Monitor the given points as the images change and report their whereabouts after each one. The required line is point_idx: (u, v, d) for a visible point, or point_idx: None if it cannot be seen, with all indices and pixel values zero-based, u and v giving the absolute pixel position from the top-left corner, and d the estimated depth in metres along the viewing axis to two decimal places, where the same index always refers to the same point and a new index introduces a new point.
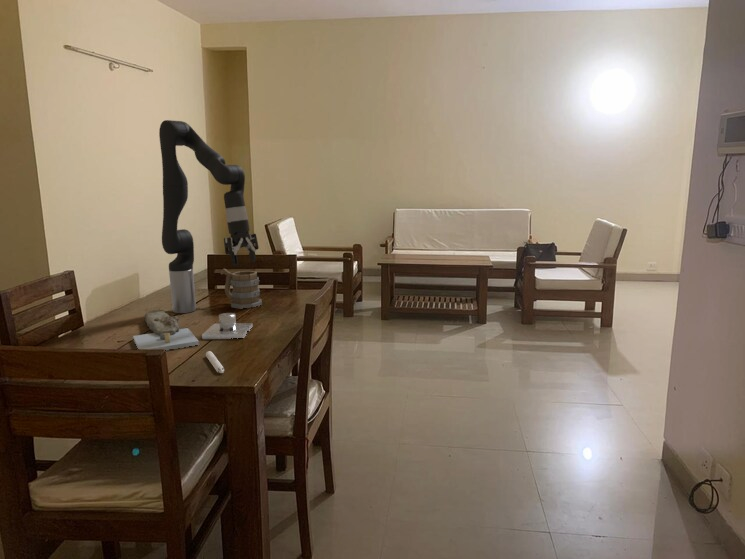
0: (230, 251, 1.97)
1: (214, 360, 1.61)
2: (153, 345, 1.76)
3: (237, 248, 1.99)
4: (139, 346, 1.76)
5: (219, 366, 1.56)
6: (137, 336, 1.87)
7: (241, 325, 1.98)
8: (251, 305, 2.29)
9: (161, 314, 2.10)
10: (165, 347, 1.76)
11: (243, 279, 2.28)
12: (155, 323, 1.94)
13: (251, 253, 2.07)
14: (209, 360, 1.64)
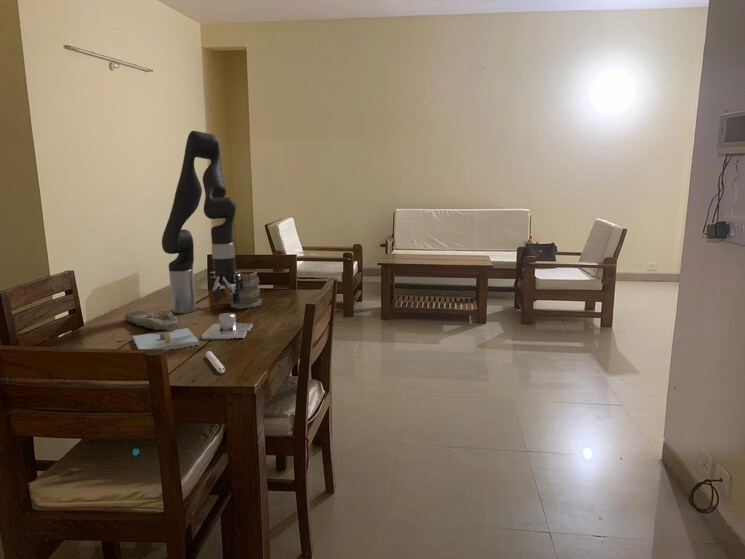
0: (209, 286, 1.94)
1: (214, 360, 1.61)
2: (153, 345, 1.76)
3: (215, 285, 1.92)
4: (139, 346, 1.76)
5: (220, 366, 1.56)
6: (137, 336, 1.87)
7: (241, 325, 1.98)
8: (251, 305, 2.29)
9: (144, 313, 2.10)
10: (165, 347, 1.76)
11: (243, 279, 2.28)
12: (151, 319, 1.96)
13: None
14: (209, 360, 1.64)
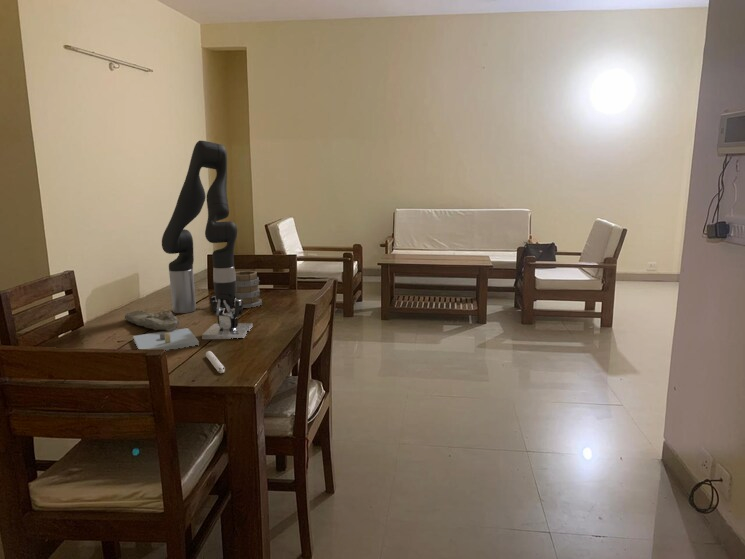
0: (213, 310, 1.95)
1: (214, 360, 1.61)
2: (153, 345, 1.76)
3: (217, 309, 1.93)
4: (139, 346, 1.76)
5: (220, 366, 1.56)
6: (137, 336, 1.87)
7: (241, 325, 1.98)
8: (251, 305, 2.29)
9: (144, 313, 2.10)
10: (165, 347, 1.76)
11: (243, 279, 2.28)
12: (151, 319, 1.96)
13: None
14: (209, 360, 1.64)
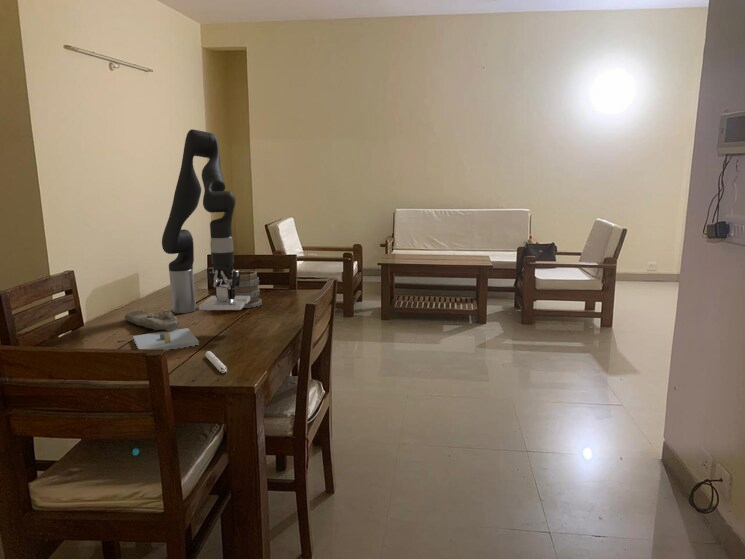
0: (210, 282, 1.93)
1: (215, 360, 1.61)
2: (153, 345, 1.76)
3: (214, 280, 1.91)
4: (139, 346, 1.76)
5: (222, 366, 1.56)
6: (137, 336, 1.87)
7: (238, 297, 1.96)
8: (251, 305, 2.29)
9: (144, 313, 2.10)
10: (165, 347, 1.76)
11: (243, 279, 2.28)
12: (151, 319, 1.96)
13: None
14: (210, 360, 1.64)
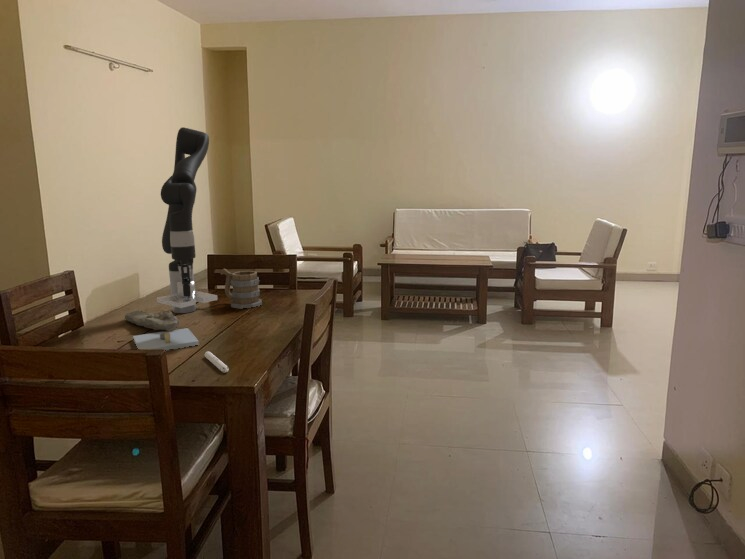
0: None
1: (216, 360, 1.61)
2: (153, 345, 1.76)
3: None
4: (139, 346, 1.76)
5: (223, 365, 1.56)
6: (137, 336, 1.87)
7: (202, 295, 1.86)
8: (251, 305, 2.29)
9: (144, 313, 2.10)
10: (165, 347, 1.76)
11: (243, 279, 2.28)
12: (151, 319, 1.96)
13: None
14: (210, 360, 1.64)
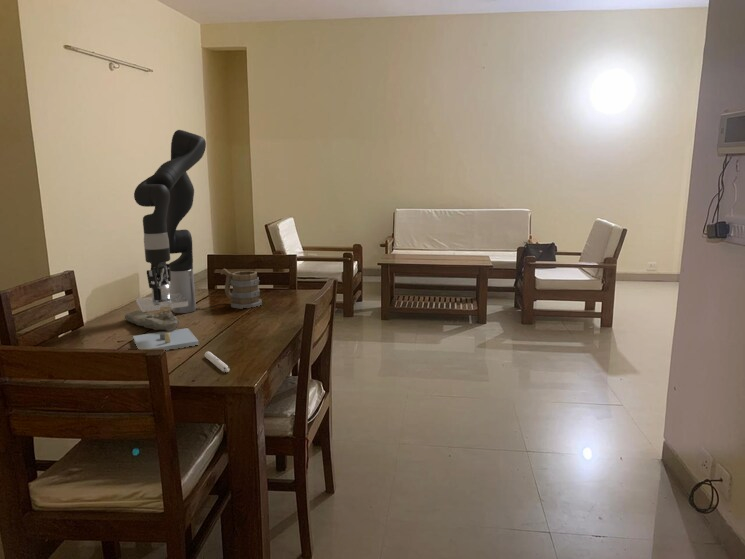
0: None
1: (217, 360, 1.61)
2: (153, 345, 1.76)
3: None
4: (139, 346, 1.76)
5: (224, 365, 1.57)
6: (137, 336, 1.87)
7: (175, 300, 1.80)
8: (251, 305, 2.29)
9: (144, 313, 2.10)
10: (165, 347, 1.76)
11: (243, 279, 2.28)
12: (151, 319, 1.96)
13: None
14: (210, 360, 1.64)
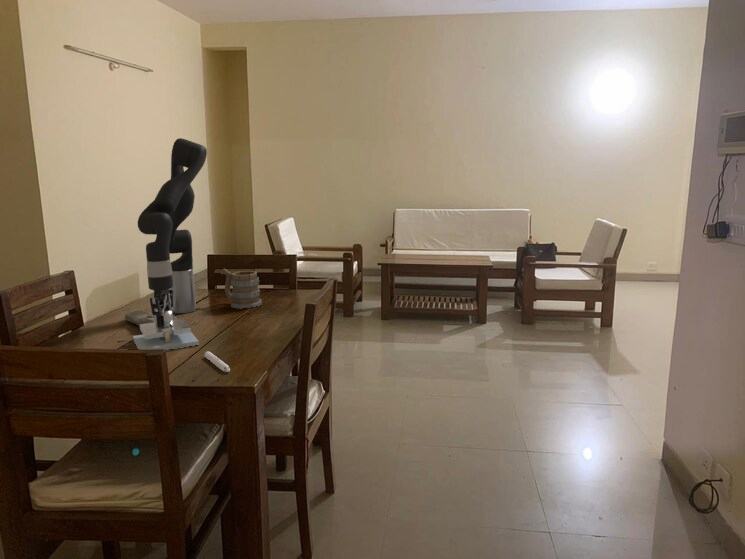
0: None
1: (217, 360, 1.61)
2: (153, 345, 1.76)
3: None
4: (139, 346, 1.76)
5: (225, 365, 1.57)
6: (137, 336, 1.87)
7: (178, 327, 1.82)
8: (251, 305, 2.29)
9: (144, 313, 2.10)
10: (165, 347, 1.76)
11: (243, 279, 2.28)
12: (151, 319, 1.96)
13: None
14: (210, 360, 1.64)
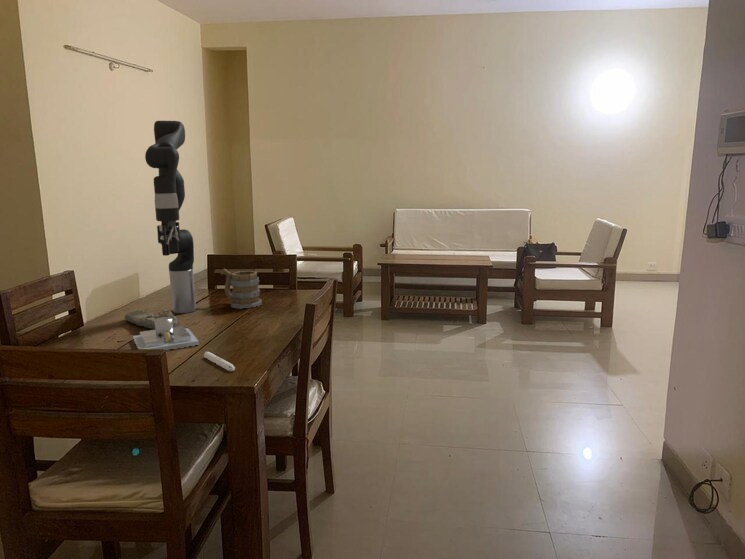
0: None
1: (219, 359, 1.62)
2: None
3: None
4: (139, 346, 1.76)
5: (229, 364, 1.57)
6: (137, 336, 1.87)
7: (178, 334, 1.82)
8: (251, 305, 2.29)
9: (144, 313, 2.10)
10: (165, 347, 1.76)
11: (243, 279, 2.28)
12: (151, 319, 1.96)
13: None
14: (211, 360, 1.64)
